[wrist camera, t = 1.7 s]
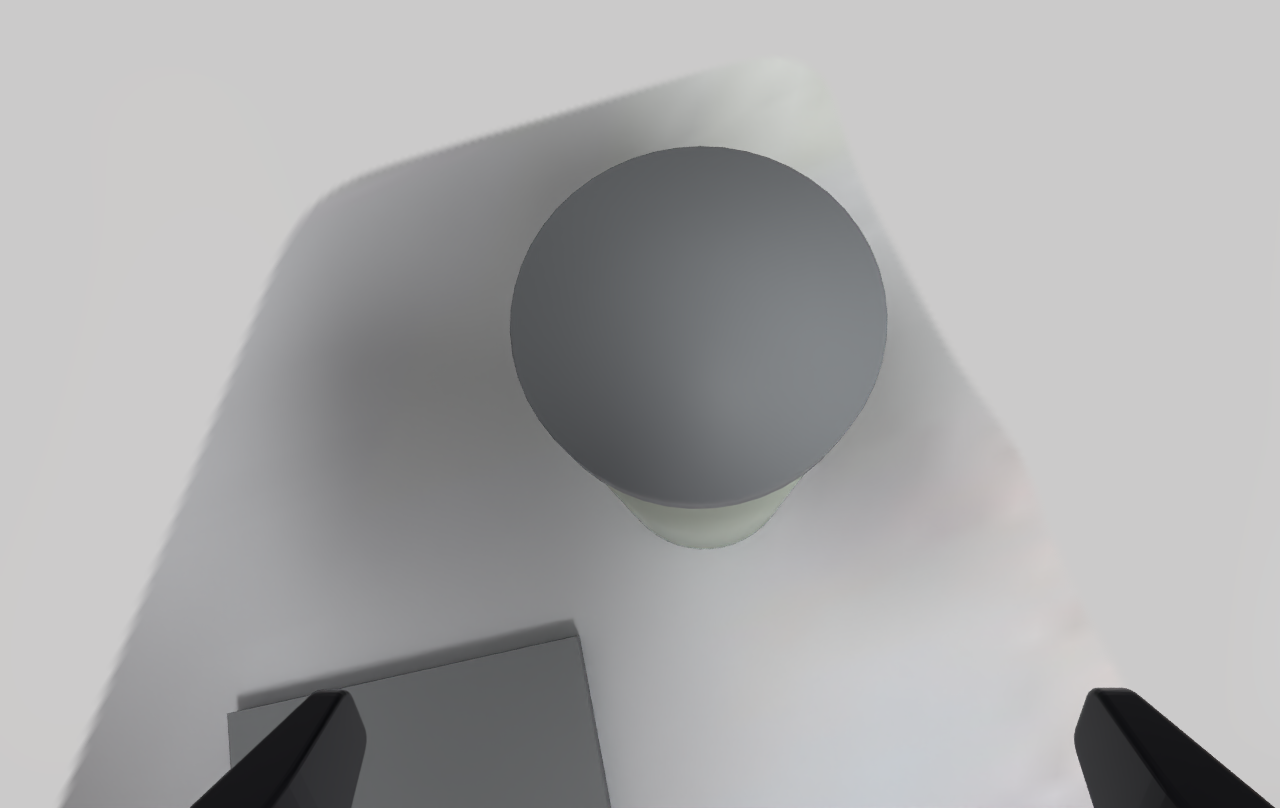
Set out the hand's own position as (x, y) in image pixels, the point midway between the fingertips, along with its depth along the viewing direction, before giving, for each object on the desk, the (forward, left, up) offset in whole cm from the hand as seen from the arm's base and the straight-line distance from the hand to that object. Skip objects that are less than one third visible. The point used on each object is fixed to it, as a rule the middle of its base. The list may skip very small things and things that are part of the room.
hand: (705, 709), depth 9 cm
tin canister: (+5, -1, -12) cm, 13 cm away
